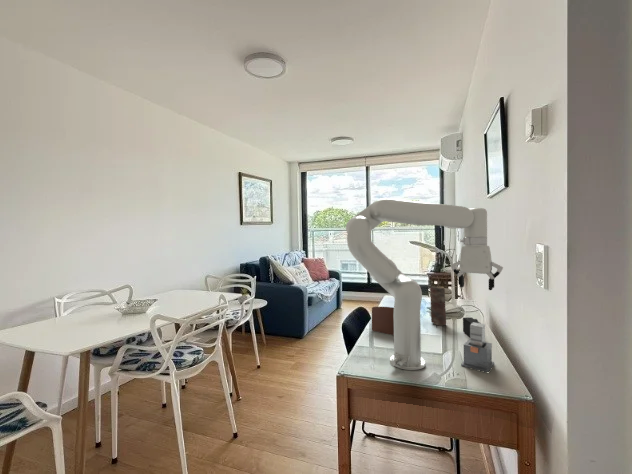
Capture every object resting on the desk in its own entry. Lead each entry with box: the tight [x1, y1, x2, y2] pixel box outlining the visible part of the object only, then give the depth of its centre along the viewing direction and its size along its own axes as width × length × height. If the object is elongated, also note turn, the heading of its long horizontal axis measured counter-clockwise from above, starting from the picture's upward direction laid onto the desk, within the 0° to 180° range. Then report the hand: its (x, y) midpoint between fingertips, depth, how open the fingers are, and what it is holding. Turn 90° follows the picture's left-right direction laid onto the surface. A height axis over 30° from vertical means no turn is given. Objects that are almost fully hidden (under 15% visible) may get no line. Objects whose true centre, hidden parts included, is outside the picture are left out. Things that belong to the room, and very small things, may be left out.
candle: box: [429, 286, 447, 327], centre depth 166 cm, size 8×7×20 cm
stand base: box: [460, 338, 495, 373], centre depth 116 cm, size 9×9×8 cm
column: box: [469, 322, 486, 348], centre depth 116 cm, size 4×4×14 cm
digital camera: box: [462, 317, 482, 337], centre depth 149 cm, size 10×5×7 cm, turn 177°
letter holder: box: [371, 306, 394, 336], centre depth 152 cm, size 10×20×14 cm, turn 55°
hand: (475, 288), depth 116 cm, fingers open, 9 cm apart
